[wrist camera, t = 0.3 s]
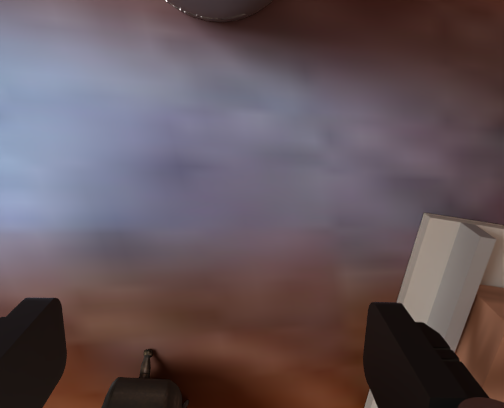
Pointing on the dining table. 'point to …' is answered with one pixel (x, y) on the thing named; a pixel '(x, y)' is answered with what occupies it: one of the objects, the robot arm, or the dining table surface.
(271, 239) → the dining table surface
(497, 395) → the block
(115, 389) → the alarm clock
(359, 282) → the dining table surface
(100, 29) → the dining table surface
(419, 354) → the robot arm
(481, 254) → the chute
